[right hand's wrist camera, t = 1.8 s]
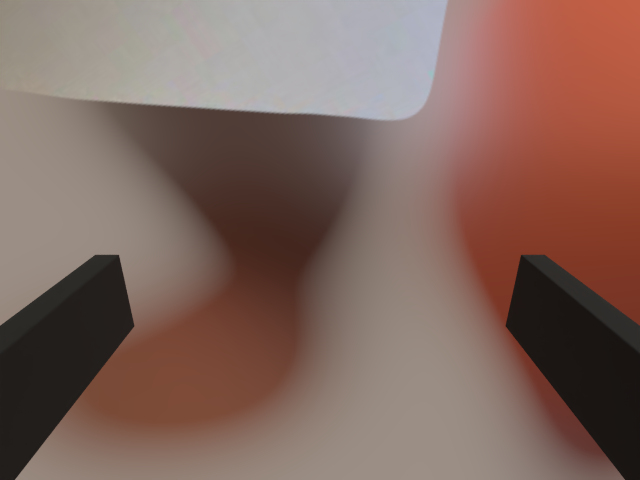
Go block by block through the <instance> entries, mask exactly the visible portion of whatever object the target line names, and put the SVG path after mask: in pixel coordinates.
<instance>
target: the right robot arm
mask: <svg viewBox="0 0 640 480" xmlns="http://www.w3.org/2000/svg"><path fill="white" fill-rule="evenodd" d="M133 327H134V323H133V318H132V313H131V309H130V304H129V299H128V295H127V290H126V285H125V281H124V276H123V272H122V267H121V263H120V258H119V255H95V256H93V257H92V258H91V259H89V260H88V261H87V262H85V263H84V264H83V265H81V266H80V267H78V268H77V269H76V270H74V271H73V272H72V273H70V274H69V275H68V276H66V277H65V278H64V279H62V280H61V281H60V282H58V283H57V284H56V285H54V286H53V287H52V288H50V289H49V290H48V291H46V292H45V293H44V294H42V295H41V296H40V297H38V298H37V299H36V300H34V301H33V302H32V303H30V304H29V305H27V306H26V307H25V308H23V309H22V310H21V311H20V312H18V313H17V314H15V315H14V316H13V317H11V318H10V319H9V320H7V321H6V322H5V323H3V324H2V325H1V326H0V480H15V479H16V477H17V476H18V475H19V474H20V472H21V471H22V470H23V469H24V467H25V466H26V465H27V463H28V462H29V461H30V460H31V458H32V457H33V456H34V454H35V453H36V452H37V451H38V449H39V448H40V447H41V445H42V444H43V443H44V442H45V440H46V439H47V438H48V436H49V435H50V434H51V433H52V431H53V430H54V429H55V427H56V426H57V425H58V424H59V422H60V421H61V420H62V418H63V417H64V416H65V415H66V413H67V412H68V411H69V409H70V408H71V407H72V406H73V404H74V403H75V402H76V400H77V399H78V398H79V397H80V395H81V394H82V393H83V391H84V390H85V389H86V387H87V386H88V385H89V384H90V382H91V381H92V380H93V379H94V377H95V376H96V375H97V373H98V372H99V371H100V370H101V368H102V367H103V366H104V364H105V363H106V362H107V361H108V359H109V358H110V357H111V355H112V354H113V353H114V352H115V350H116V349H117V348H118V346H119V345H120V344H121V343H122V341H123V340H124V339H125V337H126V336H127V335H128V334H129V332H130V331H131V330H132V328H133ZM506 327H507V328H508V330H509V331H510V332H511V334H512V335H513V336H514V337H515V339H516V340H517V341H518V343H519V344H520V345H521V346H522V348H523V349H524V350H525V352H526V353H527V354H528V355H529V357H530V358H531V359H532V361H533V362H534V363H535V364H536V366H537V367H538V368H539V370H540V371H541V372H542V373H543V375H544V376H545V377H546V379H547V380H548V381H549V382H550V384H551V385H552V386H553V388H554V389H555V390H556V391H557V393H558V394H559V395H560V397H561V398H562V399H563V400H564V402H565V403H566V404H567V406H568V407H569V408H570V409H571V411H572V412H573V413H574V415H575V416H576V417H577V418H578V420H579V421H580V422H581V424H582V425H583V426H584V427H585V429H586V430H587V431H588V433H589V434H590V435H591V436H592V438H593V439H594V440H595V442H596V443H597V444H598V445H599V447H600V448H601V449H602V451H603V452H604V453H605V454H606V456H607V457H608V458H609V460H610V461H611V462H612V463H613V465H614V466H615V467H616V468H617V470H618V471H619V472H620V474H621V475H622V476H623V478H624V479H625V480H640V326H639V325H638V324H637V323H635V322H634V321H633V320H631V319H630V318H629V317H627V316H626V315H625V314H623V313H622V312H620V311H619V310H618V309H617V308H615V307H614V306H612V305H611V304H610V303H609V302H607V301H606V300H604V299H603V298H602V297H600V296H599V295H598V294H596V293H595V292H594V291H592V290H591V289H590V288H588V287H587V286H586V285H584V284H583V283H582V282H580V281H579V280H578V279H576V278H575V277H574V276H572V275H571V274H570V273H568V272H567V271H566V270H564V269H563V268H562V267H560V266H559V265H558V264H556V263H555V262H553V261H552V260H551V259H549V258H548V257H547V256H545V255H521V258H520V262H519V267H518V272H517V276H516V281H515V285H514V290H513V295H512V299H511V304H510V308H509V313H508V318H507V322H506Z"/></svg>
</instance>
